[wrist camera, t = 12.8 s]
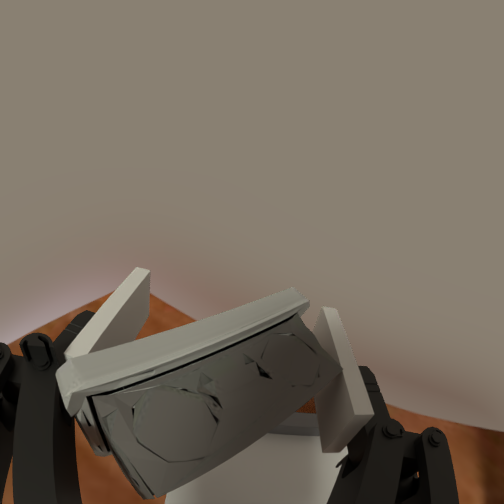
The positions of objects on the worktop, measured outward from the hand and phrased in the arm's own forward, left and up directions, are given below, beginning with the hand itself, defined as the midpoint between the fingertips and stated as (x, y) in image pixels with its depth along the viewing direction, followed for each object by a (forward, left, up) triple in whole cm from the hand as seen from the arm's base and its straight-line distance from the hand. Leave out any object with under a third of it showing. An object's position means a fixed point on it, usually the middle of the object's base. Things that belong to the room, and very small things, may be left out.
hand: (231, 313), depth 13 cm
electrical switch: (0, +5, -6) cm, 8 cm away
